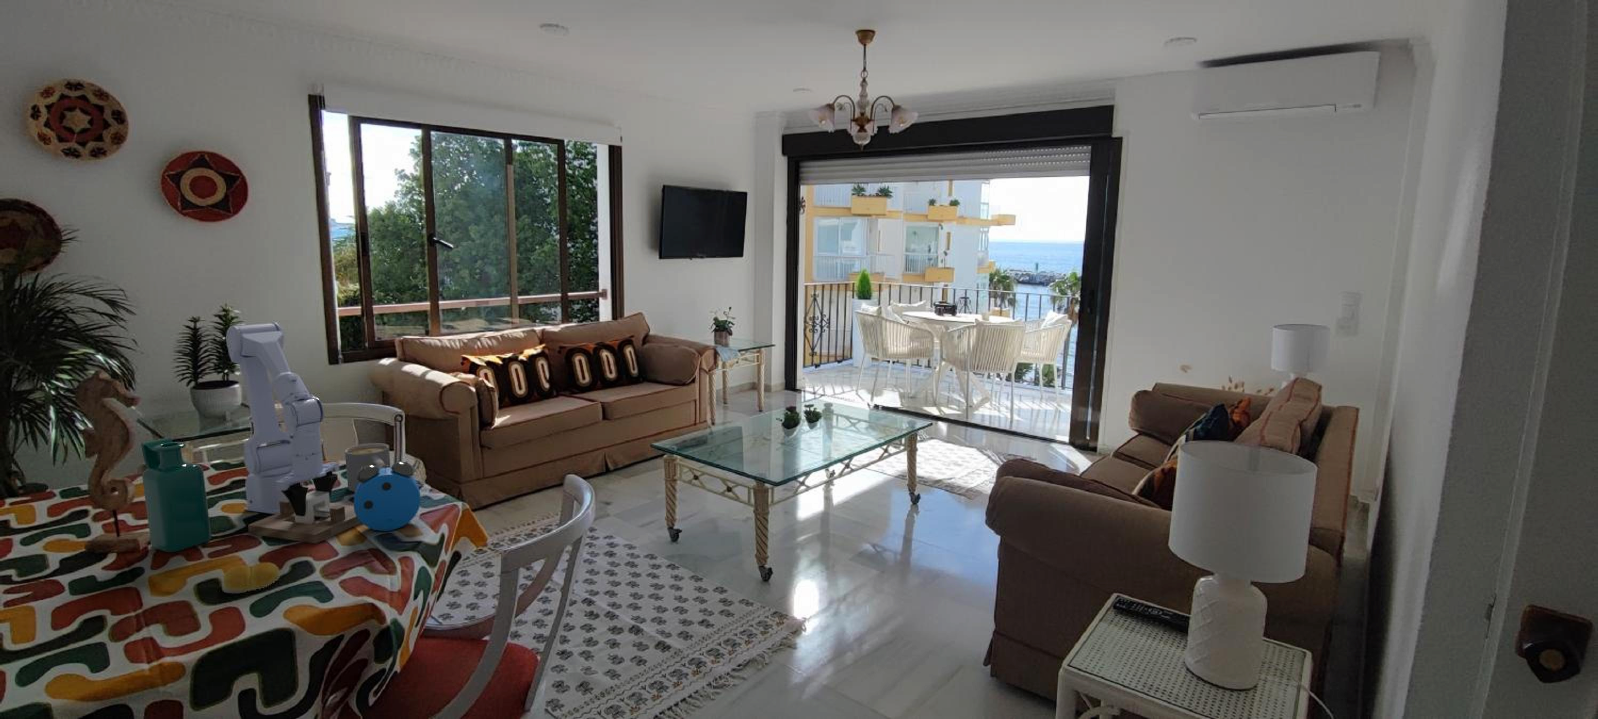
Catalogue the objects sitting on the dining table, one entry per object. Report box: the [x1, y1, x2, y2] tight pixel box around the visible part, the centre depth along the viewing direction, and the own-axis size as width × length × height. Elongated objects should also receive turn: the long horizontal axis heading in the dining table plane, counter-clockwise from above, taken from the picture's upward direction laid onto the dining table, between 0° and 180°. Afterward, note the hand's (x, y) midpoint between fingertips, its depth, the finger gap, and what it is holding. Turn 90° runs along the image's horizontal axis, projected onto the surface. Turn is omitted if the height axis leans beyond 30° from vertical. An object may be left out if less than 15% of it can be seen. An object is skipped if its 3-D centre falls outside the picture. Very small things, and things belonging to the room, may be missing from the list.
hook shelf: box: [247, 499, 362, 544], centre depth 173 cm, size 18×16×5 cm
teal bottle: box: [140, 437, 212, 553], centre depth 160 cm, size 10×8×22 cm
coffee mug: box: [344, 442, 391, 493], centre depth 197 cm, size 13×10×10 cm
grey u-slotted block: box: [294, 490, 331, 525], centre depth 172 cm, size 4×6×6 cm
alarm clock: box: [353, 460, 422, 532], centre depth 172 cm, size 13×6×15 cm, turn 119°
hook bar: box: [288, 503, 331, 514], centre depth 172 cm, size 14×1×1 cm, turn 76°
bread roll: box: [221, 561, 281, 594], centre depth 145 cm, size 8×9×4 cm
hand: (312, 510), depth 173 cm, fingers closed on grey u-slotted block, 5 cm apart
